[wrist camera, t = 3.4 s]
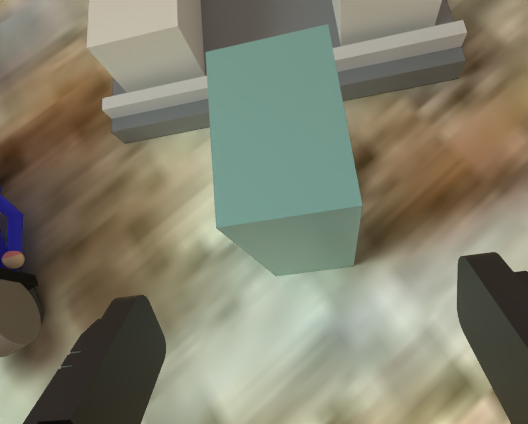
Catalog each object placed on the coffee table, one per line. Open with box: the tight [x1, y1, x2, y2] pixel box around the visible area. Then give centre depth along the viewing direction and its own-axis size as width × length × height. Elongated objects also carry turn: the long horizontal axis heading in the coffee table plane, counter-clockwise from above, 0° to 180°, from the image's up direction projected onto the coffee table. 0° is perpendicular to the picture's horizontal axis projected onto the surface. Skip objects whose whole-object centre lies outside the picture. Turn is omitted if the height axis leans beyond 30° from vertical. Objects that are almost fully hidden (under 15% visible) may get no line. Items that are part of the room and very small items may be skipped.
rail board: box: [102, 0, 467, 143], centre depth 23 cm, size 20×11×2 cm, turn 96°
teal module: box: [206, 24, 362, 276], centre depth 16 cm, size 4×6×10 cm, turn 6°
